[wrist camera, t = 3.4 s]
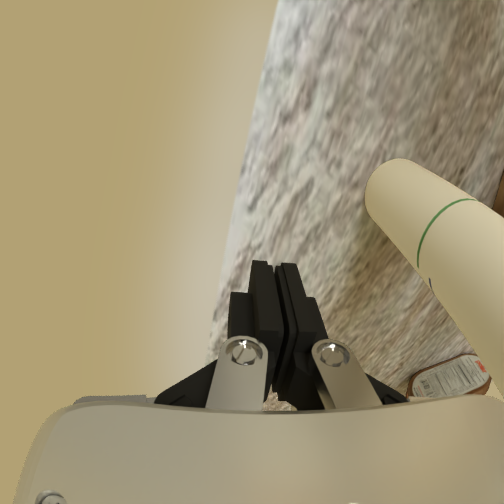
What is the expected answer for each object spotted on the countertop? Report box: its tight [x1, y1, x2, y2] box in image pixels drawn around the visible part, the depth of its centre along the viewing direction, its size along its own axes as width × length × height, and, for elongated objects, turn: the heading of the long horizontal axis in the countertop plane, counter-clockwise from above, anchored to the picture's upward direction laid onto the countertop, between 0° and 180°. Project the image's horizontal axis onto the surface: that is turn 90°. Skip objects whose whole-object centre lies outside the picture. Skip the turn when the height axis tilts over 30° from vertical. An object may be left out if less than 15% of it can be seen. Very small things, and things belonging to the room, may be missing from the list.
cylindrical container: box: [365, 158, 504, 398], centre depth 18 cm, size 7×7×25 cm
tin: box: [406, 353, 492, 399], centre depth 39 cm, size 15×3×8 cm, turn 104°
